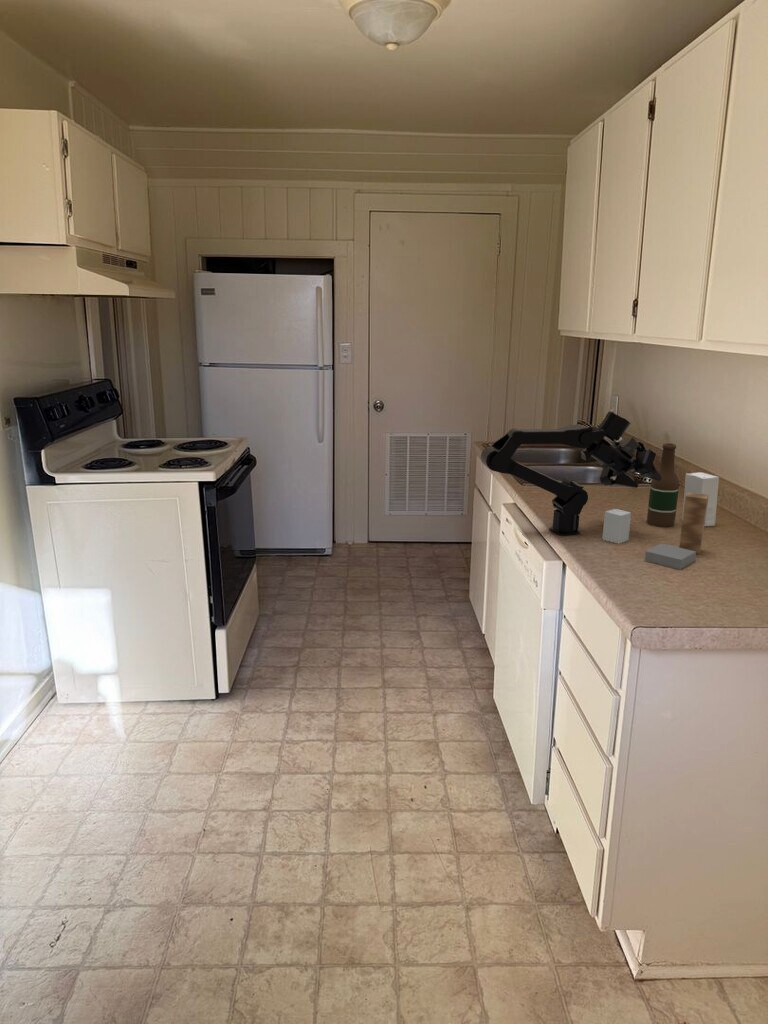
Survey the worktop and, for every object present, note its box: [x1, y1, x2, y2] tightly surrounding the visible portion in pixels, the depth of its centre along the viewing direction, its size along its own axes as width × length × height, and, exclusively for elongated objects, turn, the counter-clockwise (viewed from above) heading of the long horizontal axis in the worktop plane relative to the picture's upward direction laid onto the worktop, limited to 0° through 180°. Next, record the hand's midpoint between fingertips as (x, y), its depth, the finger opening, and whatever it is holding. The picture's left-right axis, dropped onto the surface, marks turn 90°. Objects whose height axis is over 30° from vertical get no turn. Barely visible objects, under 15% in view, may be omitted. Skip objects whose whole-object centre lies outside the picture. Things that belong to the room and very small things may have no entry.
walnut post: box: [678, 492, 709, 555], centre depth 184 cm, size 5×5×15 cm
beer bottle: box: [646, 442, 680, 528], centre depth 207 cm, size 8×8×24 cm
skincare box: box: [681, 471, 720, 527], centre depth 209 cm, size 8×6×15 cm
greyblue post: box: [601, 508, 632, 545], centre depth 194 cm, size 5×5×8 cm
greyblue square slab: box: [644, 543, 697, 570], centre depth 178 cm, size 9×9×3 cm
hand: (648, 482), depth 201 cm, fingers open, 9 cm apart
